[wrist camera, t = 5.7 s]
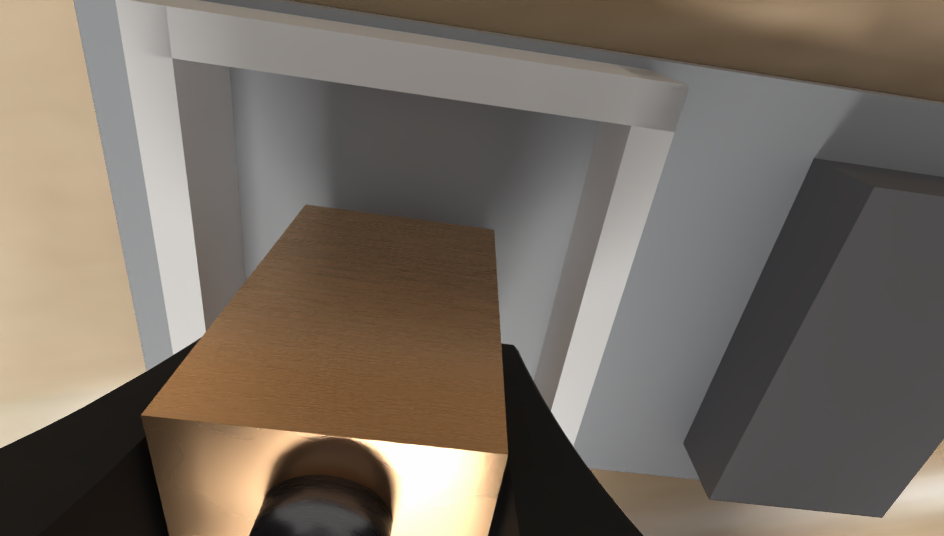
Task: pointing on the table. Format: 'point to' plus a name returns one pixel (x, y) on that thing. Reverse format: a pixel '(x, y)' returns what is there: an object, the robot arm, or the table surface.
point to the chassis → (565, 223)
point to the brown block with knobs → (342, 389)
